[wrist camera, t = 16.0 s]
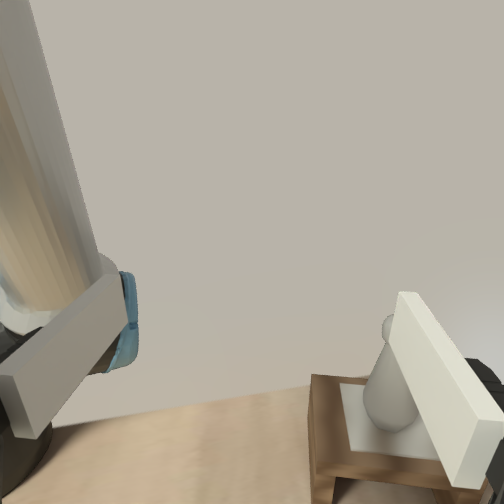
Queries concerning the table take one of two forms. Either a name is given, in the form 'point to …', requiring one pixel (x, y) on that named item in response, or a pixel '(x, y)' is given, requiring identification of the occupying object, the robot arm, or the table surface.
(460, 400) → the robot arm
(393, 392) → the salt shaker
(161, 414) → the table surface
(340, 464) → the walnut shelf
